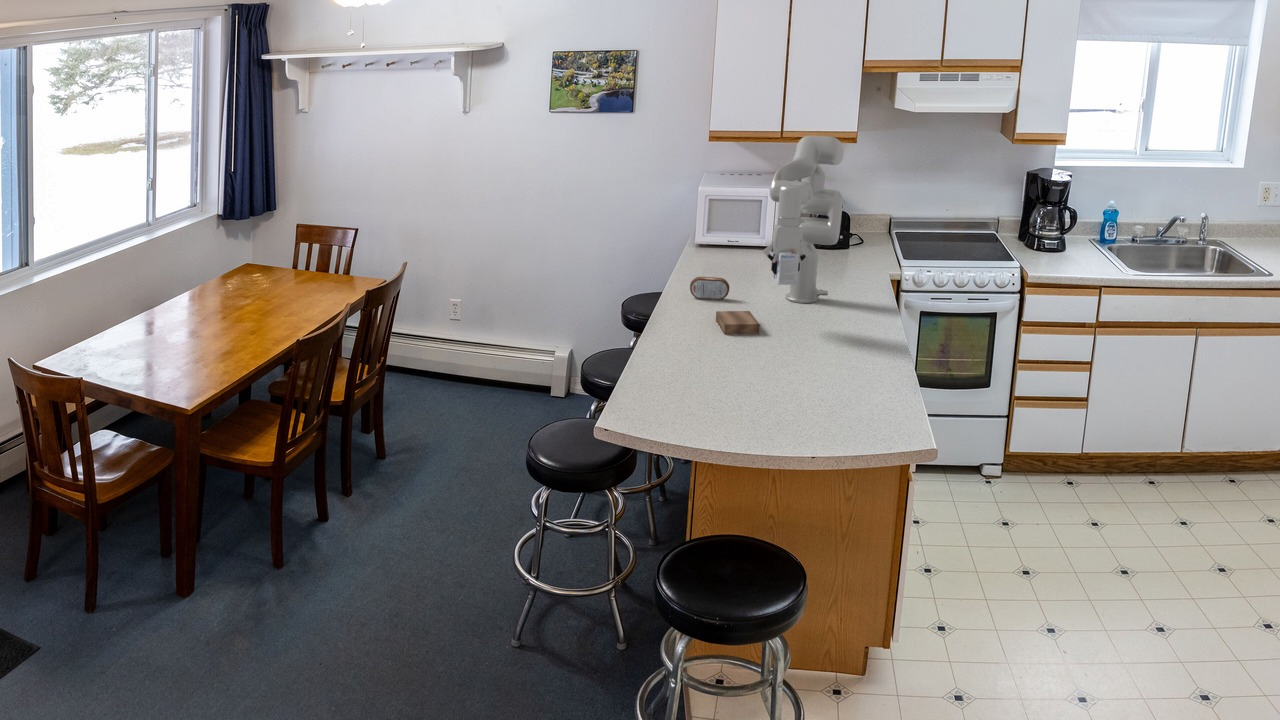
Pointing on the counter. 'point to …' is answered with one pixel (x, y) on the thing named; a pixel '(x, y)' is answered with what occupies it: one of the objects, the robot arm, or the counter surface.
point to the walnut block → (737, 322)
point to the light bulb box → (787, 268)
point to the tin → (709, 288)
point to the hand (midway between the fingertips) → (785, 272)
